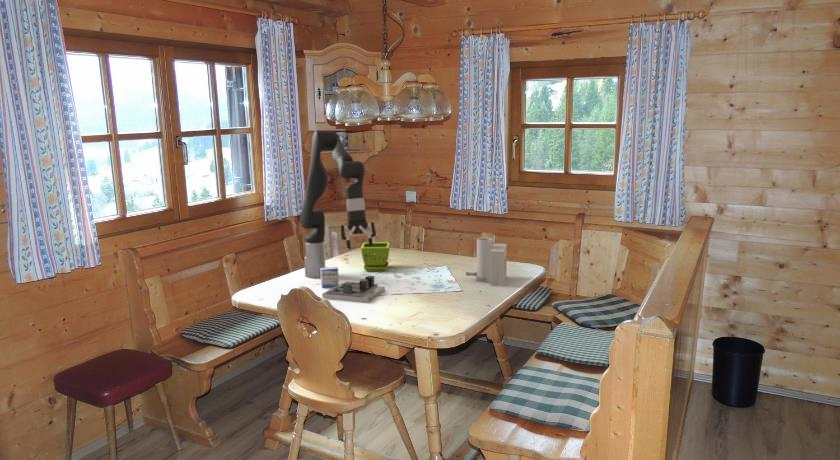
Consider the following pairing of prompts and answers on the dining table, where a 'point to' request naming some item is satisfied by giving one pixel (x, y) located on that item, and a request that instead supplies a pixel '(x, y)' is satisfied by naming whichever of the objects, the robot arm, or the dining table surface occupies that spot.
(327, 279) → the medicine box
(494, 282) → the light grey tall pieces
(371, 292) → the grey peg board
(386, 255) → the flower pot
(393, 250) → the dining table surface
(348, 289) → the breaker
